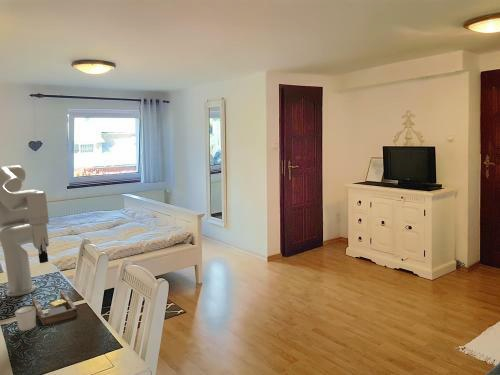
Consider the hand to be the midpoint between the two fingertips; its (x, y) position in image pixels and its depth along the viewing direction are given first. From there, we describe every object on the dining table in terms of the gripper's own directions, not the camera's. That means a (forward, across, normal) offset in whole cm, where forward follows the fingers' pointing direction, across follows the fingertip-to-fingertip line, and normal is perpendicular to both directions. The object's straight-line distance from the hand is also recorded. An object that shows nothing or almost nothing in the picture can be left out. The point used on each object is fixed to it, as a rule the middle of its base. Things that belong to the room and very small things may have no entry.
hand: (43, 262), depth 174 cm
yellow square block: (+18, +11, +2) cm, 21 cm away
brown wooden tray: (+18, +11, 0) cm, 21 cm away
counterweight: (+18, +19, 0) cm, 26 cm away
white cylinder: (+18, +21, -11) cm, 30 cm away
